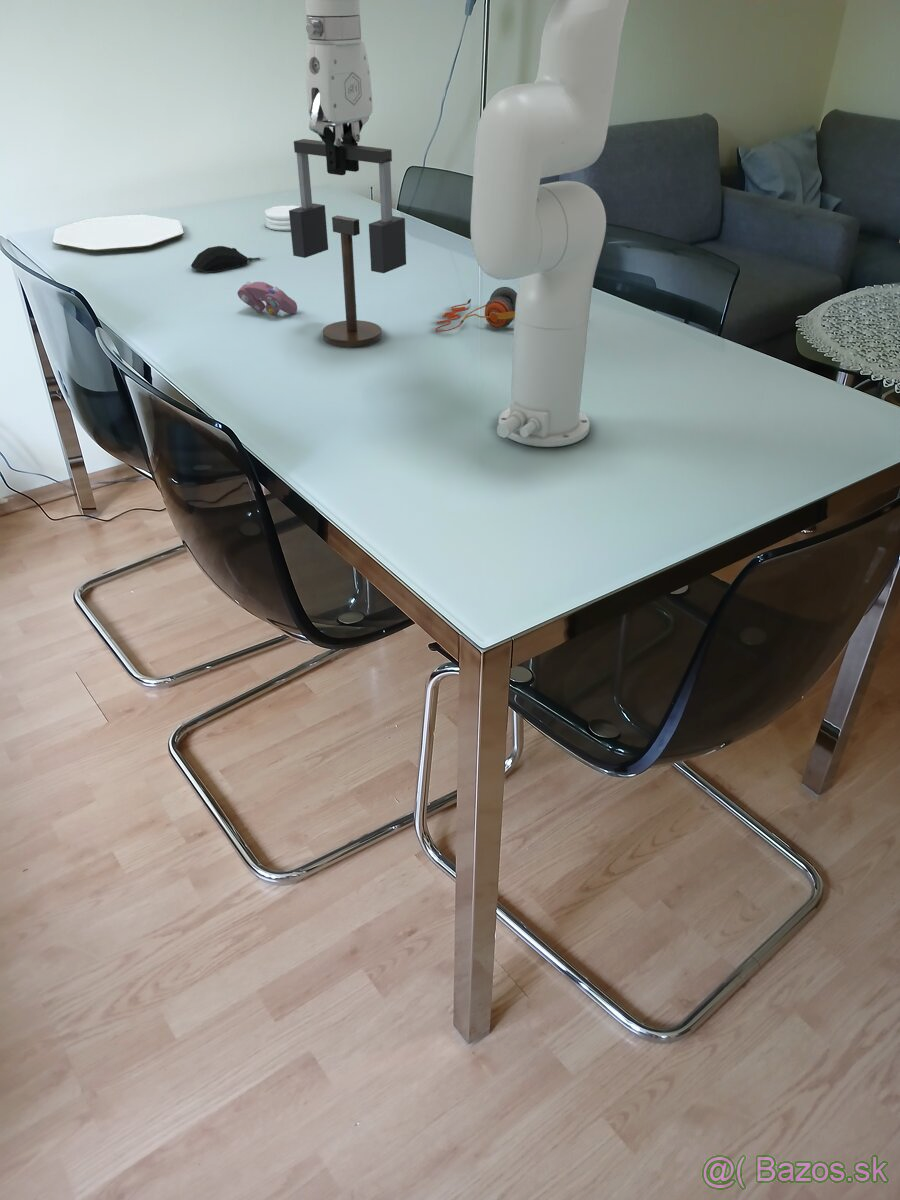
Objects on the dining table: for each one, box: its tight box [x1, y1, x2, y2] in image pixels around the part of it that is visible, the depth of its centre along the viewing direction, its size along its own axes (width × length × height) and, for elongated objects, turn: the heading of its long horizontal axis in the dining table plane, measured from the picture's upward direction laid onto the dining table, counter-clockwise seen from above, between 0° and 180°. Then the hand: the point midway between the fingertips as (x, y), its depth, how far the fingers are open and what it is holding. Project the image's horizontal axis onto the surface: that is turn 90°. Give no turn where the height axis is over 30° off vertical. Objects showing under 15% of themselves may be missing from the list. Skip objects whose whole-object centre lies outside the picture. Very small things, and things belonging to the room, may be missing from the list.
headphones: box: [435, 286, 517, 333], centre depth 160 cm, size 17×5×20 cm
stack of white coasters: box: [264, 205, 300, 232], centre depth 213 cm, size 10×10×4 cm
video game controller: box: [237, 281, 298, 317], centre depth 163 cm, size 10×5×7 cm, turn 62°
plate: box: [52, 214, 185, 252], centre depth 204 cm, size 28×28×2 cm
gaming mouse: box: [190, 245, 261, 273], centre depth 187 cm, size 6×15×4 cm, turn 127°
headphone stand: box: [321, 215, 383, 349], centre depth 149 cm, size 10×10×19 cm
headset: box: [289, 138, 407, 274], centre depth 142 cm, size 6×18×17 cm, turn 57°
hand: (343, 171), depth 139 cm, fingers closed on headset, 2 cm apart
